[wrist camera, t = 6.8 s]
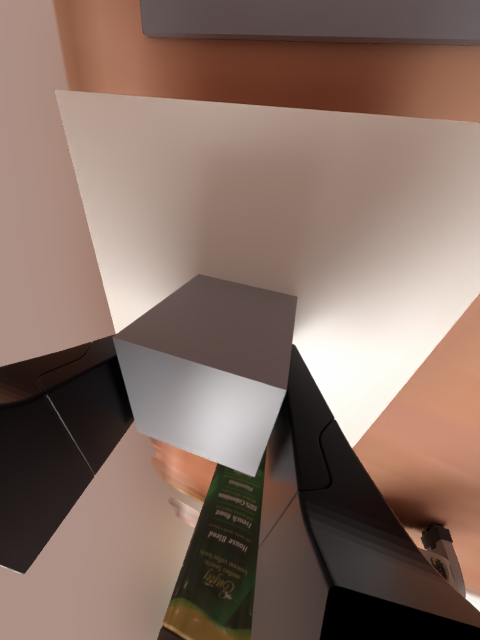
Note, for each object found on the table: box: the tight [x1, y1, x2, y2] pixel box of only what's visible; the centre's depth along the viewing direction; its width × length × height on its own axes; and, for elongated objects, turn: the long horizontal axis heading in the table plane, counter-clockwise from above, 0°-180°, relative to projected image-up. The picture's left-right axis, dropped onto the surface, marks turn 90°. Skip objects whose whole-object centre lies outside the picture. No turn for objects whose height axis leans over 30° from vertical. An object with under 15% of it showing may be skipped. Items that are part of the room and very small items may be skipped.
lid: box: [54, 90, 480, 477], centre depth 8 cm, size 14×14×6 cm
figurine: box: [419, 524, 466, 598], centre depth 22 cm, size 9×12×15 cm
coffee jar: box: [157, 446, 267, 640], centre depth 21 cm, size 10×8×19 cm
